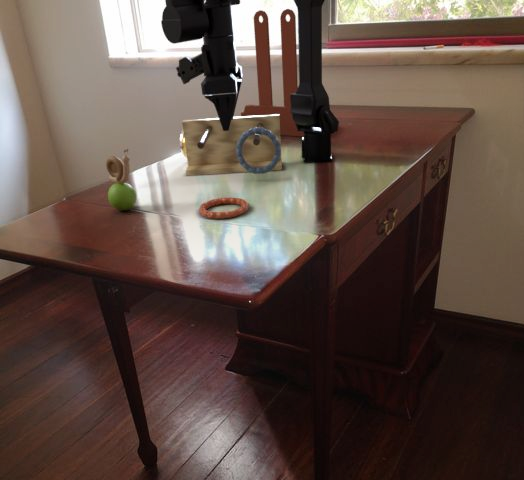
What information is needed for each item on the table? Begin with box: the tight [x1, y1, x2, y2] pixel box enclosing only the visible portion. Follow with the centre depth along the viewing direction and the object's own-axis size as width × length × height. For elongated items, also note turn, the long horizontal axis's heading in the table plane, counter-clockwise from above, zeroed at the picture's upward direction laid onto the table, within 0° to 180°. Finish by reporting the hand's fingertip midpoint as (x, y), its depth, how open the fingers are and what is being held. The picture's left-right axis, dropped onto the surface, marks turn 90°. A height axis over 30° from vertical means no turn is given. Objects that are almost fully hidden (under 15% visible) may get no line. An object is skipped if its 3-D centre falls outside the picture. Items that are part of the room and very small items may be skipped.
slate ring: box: [236, 128, 282, 175], centre depth 117 cm, size 9×1×9 cm, turn 88°
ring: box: [179, 129, 187, 159], centre depth 137 cm, size 7×3×8 cm, turn 143°
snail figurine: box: [105, 148, 137, 212], centre depth 107 cm, size 5×6×12 cm
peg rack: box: [181, 114, 283, 176], centre depth 122 cm, size 22×17×11 cm
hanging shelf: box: [240, 8, 304, 138], centre depth 152 cm, size 24×13×30 cm, turn 58°
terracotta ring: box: [198, 197, 250, 220], centre depth 106 cm, size 9×1×9 cm
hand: (228, 125), depth 111 cm, fingers open, 9 cm apart
